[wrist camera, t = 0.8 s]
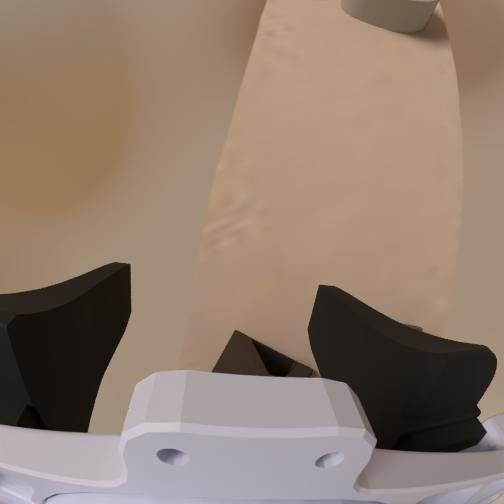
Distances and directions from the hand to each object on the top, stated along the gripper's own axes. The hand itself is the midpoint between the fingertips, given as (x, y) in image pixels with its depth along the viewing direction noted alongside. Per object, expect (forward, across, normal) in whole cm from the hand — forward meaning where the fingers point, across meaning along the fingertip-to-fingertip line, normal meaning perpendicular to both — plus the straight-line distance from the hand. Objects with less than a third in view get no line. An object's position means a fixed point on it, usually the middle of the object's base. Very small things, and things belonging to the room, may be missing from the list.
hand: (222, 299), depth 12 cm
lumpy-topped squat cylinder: (+31, -18, -31) cm, 48 cm away
